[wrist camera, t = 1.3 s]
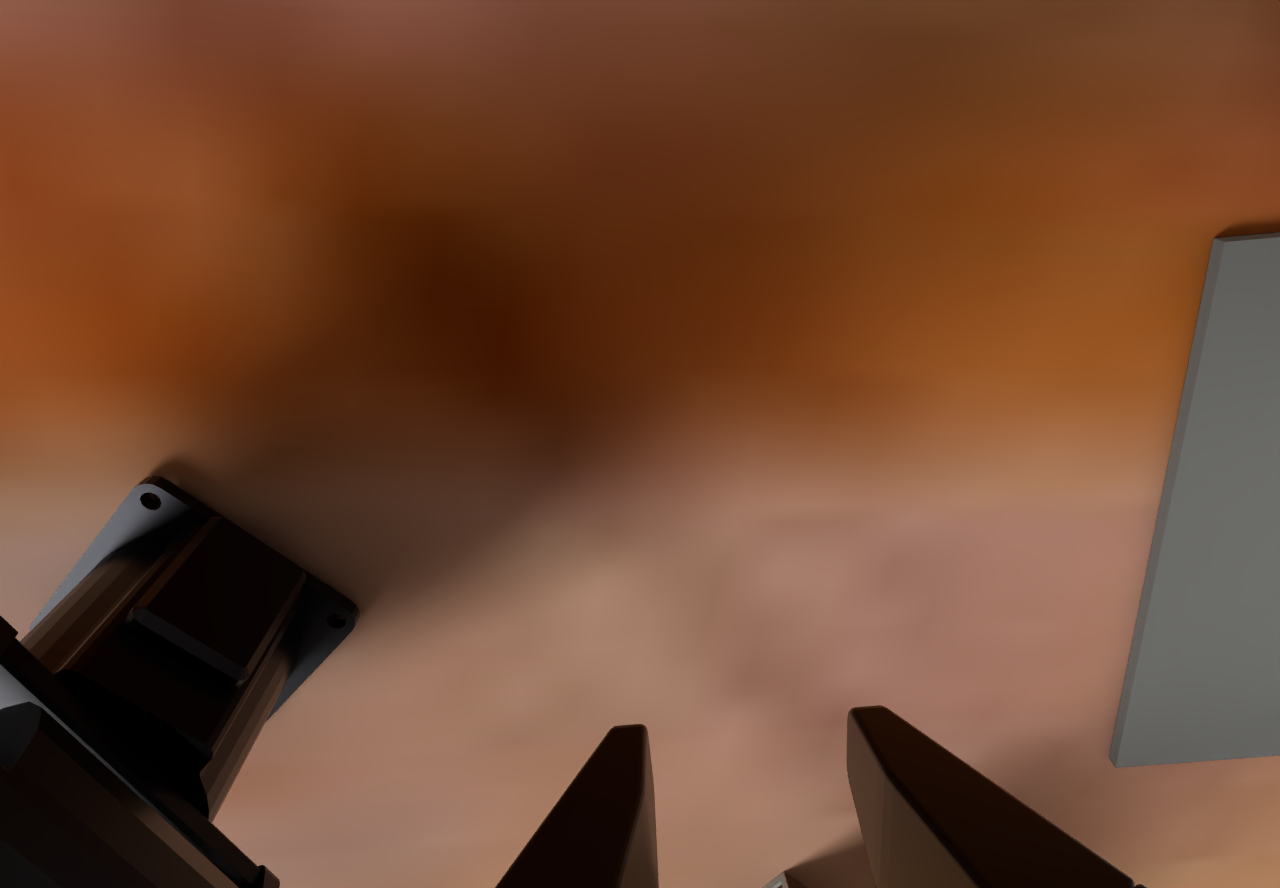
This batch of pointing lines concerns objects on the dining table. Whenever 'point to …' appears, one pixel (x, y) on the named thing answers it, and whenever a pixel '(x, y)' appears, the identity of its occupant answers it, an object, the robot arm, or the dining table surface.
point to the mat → (1216, 537)
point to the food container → (784, 882)
